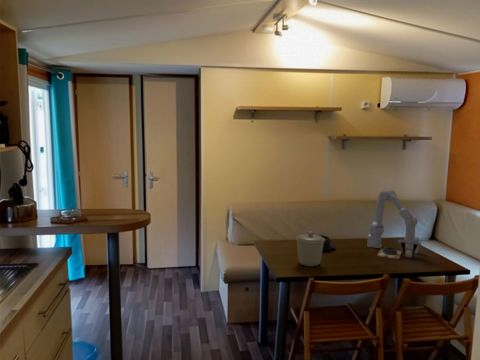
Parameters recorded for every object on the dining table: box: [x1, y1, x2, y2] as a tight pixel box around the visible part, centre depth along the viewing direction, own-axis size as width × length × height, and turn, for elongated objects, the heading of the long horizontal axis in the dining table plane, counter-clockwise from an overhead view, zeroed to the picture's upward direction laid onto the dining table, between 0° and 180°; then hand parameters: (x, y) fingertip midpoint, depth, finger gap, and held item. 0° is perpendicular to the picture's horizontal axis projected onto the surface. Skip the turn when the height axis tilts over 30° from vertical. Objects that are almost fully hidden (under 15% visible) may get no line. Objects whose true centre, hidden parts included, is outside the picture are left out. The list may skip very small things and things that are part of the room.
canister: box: [295, 230, 325, 267], centre depth 261 cm, size 18×18×21 cm
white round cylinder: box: [404, 248, 414, 258], centre depth 284 cm, size 5×5×5 cm
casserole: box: [318, 234, 337, 252], centre depth 297 cm, size 25×19×8 cm
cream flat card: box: [376, 246, 403, 260], centre depth 287 cm, size 14×18×4 cm
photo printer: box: [403, 234, 420, 254], centre depth 295 cm, size 10×4×12 cm, turn 39°
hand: (408, 254), depth 284 cm, fingers open, 5 cm apart
